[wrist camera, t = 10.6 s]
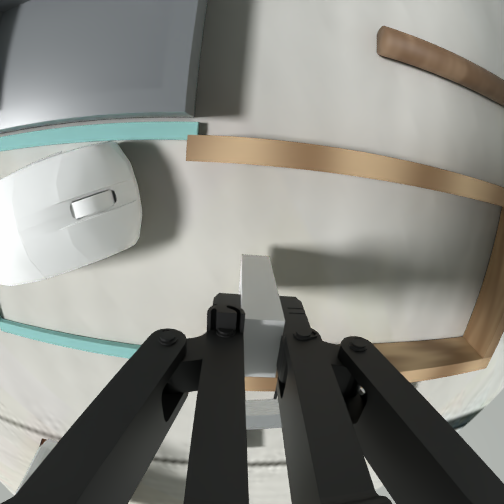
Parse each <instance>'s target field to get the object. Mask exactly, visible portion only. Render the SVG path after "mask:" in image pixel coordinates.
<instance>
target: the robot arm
mask: <svg viewBox="0 0 504 504" xmlns="http://www.w3.org/2000/svg"><path fill="white" fill-rule="evenodd" d="M276 370H277V372H278V379H277V384H276V389H275V394H274V399H277V396H278V403H279V410H280V418H281V425H282V433H283V440H284V448H285V455H286V463H287V470H288V478H289V486H290V493H291V501H292V504H392V502H391V501H390V500H389V499H388V498H387V497H385V496H379V495H378V494H377V493H376V491H375V489H374V486H373V483H372V480H371V477H370V474H369V471H368V468H367V465H366V462H365V459H364V457H365V458H366V460H367V461H368V463H369V464H370V466H371V467H372V469H373V470H374V472H375V473H376V475H377V476H378V478H379V479H380V480H381V482H382V483H383V485H384V486H385V488H386V489H387V491H388V492H389V494H390V495H391V497H392V498H393V500H394V501H395V503H396V504H504V484H503V483H502V481H501V480H500V479H499V478H498V477H497V476H496V475H495V474H494V473H493V471H492V470H491V469H490V468H489V467H488V466H487V465H486V464H485V463H484V461H483V460H482V459H481V458H480V457H479V456H478V455H477V454H476V453H475V452H474V451H473V449H472V448H471V447H470V446H469V445H468V444H467V443H466V442H465V441H464V440H463V438H462V437H461V436H460V435H459V434H458V433H457V432H456V431H455V430H454V429H453V428H452V427H451V426H450V424H449V423H448V422H447V421H446V420H445V419H444V418H443V417H442V416H441V415H440V414H439V413H438V412H437V411H436V410H435V409H434V407H433V406H432V405H431V404H430V403H429V402H428V401H427V400H426V399H425V398H424V397H423V396H422V395H421V394H420V393H419V392H418V391H417V390H416V388H415V387H414V386H413V385H412V384H411V383H410V382H409V381H408V380H407V379H406V378H405V377H404V376H403V375H402V374H401V373H400V372H399V371H398V370H397V369H396V368H395V367H394V366H393V365H392V364H391V362H390V361H389V360H388V359H387V358H386V357H385V356H384V355H383V354H382V353H381V352H380V351H379V350H378V349H377V348H376V347H375V346H374V345H373V344H372V343H371V342H369V341H368V340H366V339H364V338H362V337H356V336H351V337H346V338H344V339H343V340H342V341H341V345H336V344H331V343H327V342H324V341H322V339H321V336H320V335H319V333H318V332H317V331H315V330H314V329H312V328H311V327H310V325H309V322H308V319H307V316H306V314H305V311H304V308H303V305H302V302H301V301H299V300H298V299H297V298H296V297H288V296H279V294H278V289H277V285H276V281H275V277H274V273H273V269H272V265H271V261H270V257H269V256H258V255H244V254H242V258H241V270H240V283H239V294H226V293H219V294H218V295H217V296H215V297H214V300H213V306H212V307H210V308H209V309H208V311H207V332H206V333H205V334H203V335H202V336H199V337H195V338H188V339H186V336H185V335H184V334H183V333H182V332H180V331H178V330H175V329H160V330H157V331H155V332H154V333H152V334H151V335H150V336H149V337H148V338H147V340H146V341H145V342H144V343H143V344H142V345H141V346H140V347H139V349H138V350H137V351H136V352H135V353H134V354H133V355H132V357H131V358H130V359H129V360H128V361H127V362H126V363H125V365H124V366H123V367H122V368H121V369H120V370H119V372H118V373H117V374H116V375H115V376H114V377H113V378H112V380H111V381H110V382H109V383H108V384H107V385H106V387H105V388H104V389H103V390H102V391H101V392H100V394H99V395H98V396H97V397H96V398H95V399H94V401H93V402H92V403H91V404H90V405H89V406H88V408H87V409H86V410H85V411H84V412H83V413H82V415H81V416H80V417H79V418H78V419H77V421H76V422H75V423H74V424H73V425H72V426H71V428H70V429H69V430H68V431H67V432H66V434H65V435H64V436H63V437H62V438H61V440H60V441H59V442H58V443H57V444H56V446H55V447H54V448H53V449H52V450H51V452H50V453H49V454H48V455H47V456H46V458H45V459H44V460H43V461H42V463H41V464H40V465H39V466H38V467H37V469H36V470H35V471H34V472H33V474H32V475H31V476H30V477H29V478H28V480H27V481H26V482H25V483H24V485H23V486H22V487H21V488H20V490H19V491H18V492H17V493H16V495H15V496H14V497H12V498H10V499H8V500H7V501H5V502H3V503H1V504H128V502H129V500H130V499H131V497H132V495H133V493H134V492H135V490H136V488H137V486H138V484H139V483H140V481H141V479H142V477H143V476H144V474H145V472H146V470H147V469H148V467H149V465H150V463H151V461H152V460H153V458H154V456H155V454H156V452H157V451H158V449H159V447H160V445H161V443H162V442H163V440H164V438H165V436H166V434H167V433H168V431H169V429H170V427H171V425H172V424H173V422H174V420H175V418H176V416H177V415H178V413H179V411H180V409H181V407H182V406H183V404H184V402H185V400H186V398H187V396H188V392H192V391H198V394H197V401H196V408H195V415H194V423H193V430H192V438H191V446H190V454H189V462H188V471H187V479H186V488H185V497H184V504H249V494H248V467H247V438H246V406H245V376H246V377H275V376H276ZM361 387H362V388H363V389H364V391H365V393H363V392H362V390H361V389H360V388H361ZM363 455H364V456H363Z"/></svg>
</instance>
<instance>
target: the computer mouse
mask: <svg viewBox="0 0 504 504" xmlns="http://www.w3.org/2000/svg"><path fill="white" fill-rule="evenodd" d="M142 214H143V213H142V206H141V199H140V194H139V188H138V184H137V181H136V178H135V174H134V171H133V168H132V165H131V163H130V161H129V159H128V158H127V157H126V155H125V154H124V152H123V151H122V149H121V148H120V146H119V145H118V144H117V143H116V142H112V141H108V142H103V143H97V144H93V145H88V146H84V147H81V148H77V149H74V150H71V151H68V152H64V153H62V151H61V152H58V153H55V154H53V155H50V156H48V157H45V158H43V159H40V160H38V161H36V162H33V163H31V164H29V165H27V166H26V167H23V168H21V169H19V170H17V171H15V172H13V173H11V174H9V175H8V176H6V177H4V178H2V179H0V284H2V285H8V286H14V285H20V284H25V283H31V282H36V281H40V280H44V279H47V278H50V277H53V276H57V275H60V274H63V273H66V272H69V271H72V270H75V269H77V268H80V267H83V266H86V265H89V264H92V263H94V262H97V261H99V260H102V259H104V258H107V257H109V256H111V255H114V254H116V253H118V252H121V251H123V250H125V249H128V248H130V247H131V246H133V245H135V244H136V242H137V241H138V239H139V237H140V229H141V221H142Z"/></svg>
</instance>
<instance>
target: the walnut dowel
mask: <svg viewBox="0 0 504 504" xmlns="http://www.w3.org/2000/svg"><path fill="white" fill-rule="evenodd" d="M377 54H378V55H381V56H385V57H388V58H391V59H395V60H398V61H401V62H404V63H407V64H410V65H413V66H416V67H418V68H421V69H424V70H427V71H429V72H432V73H434V74H437V75H439V76H442V77H444V78H447V79H449V80H451V81H454V82H456V83H458V84H461V85H463V86H465V87H467V88H469V89H471V90H473V91H476V92H478V93H480V94H482V95H484V96H486V97H488V98H490V99H491V100H493V101H495V102H497V103H499V104H501V105H503V106H504V80H503V79H501V78H499V77H498V76H496V75H494V74H493V73H491V72H489V71H487V70H486V69H484V68H482V67H480V66H478V65H476V64H474V63H473V62H471V61H469V60H467V59H465V58H463V57H461V56H459V55H457V54H454V53H452V52H450V51H448V50H446V49H444V48H441V47H439V46H437V45H434V44H432V43H430V42H427V41H425V40H422V39H420V38H417V37H414V36H412V35H409V34H406V33H404V32H401V31H398V30H395V29H392V28H389V27H386V26H382V27H381V28H380V29H379V31H378V33H377Z"/></svg>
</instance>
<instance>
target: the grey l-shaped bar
mask: <svg viewBox="0 0 504 504" xmlns="http://www.w3.org/2000/svg"><path fill="white" fill-rule="evenodd" d="M360 389H361V390H362V392H363V393H365V391H364V389H363V388H360ZM245 406H246V430H251V429H268V428H282V425H281V418H280V410H279V403H278V399H264V400H245Z"/></svg>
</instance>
